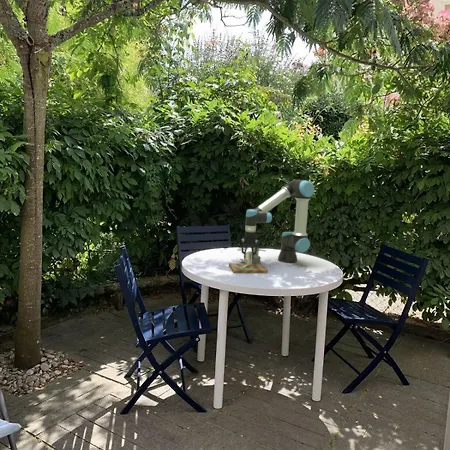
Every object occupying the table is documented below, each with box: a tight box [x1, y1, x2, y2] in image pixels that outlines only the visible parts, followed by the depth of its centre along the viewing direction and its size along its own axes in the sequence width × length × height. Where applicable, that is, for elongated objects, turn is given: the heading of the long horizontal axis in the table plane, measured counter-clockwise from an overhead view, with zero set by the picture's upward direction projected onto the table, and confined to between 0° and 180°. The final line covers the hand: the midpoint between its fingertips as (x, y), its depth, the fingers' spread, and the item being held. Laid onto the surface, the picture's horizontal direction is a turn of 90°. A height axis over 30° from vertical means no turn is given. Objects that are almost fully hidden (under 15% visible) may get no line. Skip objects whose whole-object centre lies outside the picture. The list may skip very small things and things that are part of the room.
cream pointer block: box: [243, 250, 252, 268], centre depth 299 cm, size 13×3×10 cm, turn 155°
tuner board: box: [228, 262, 268, 274], centre depth 300 cm, size 24×19×2 cm
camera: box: [239, 246, 262, 263], centre depth 318 cm, size 9×12×15 cm
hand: (248, 263), depth 302 cm, fingers closed on cream pointer block, 3 cm apart
